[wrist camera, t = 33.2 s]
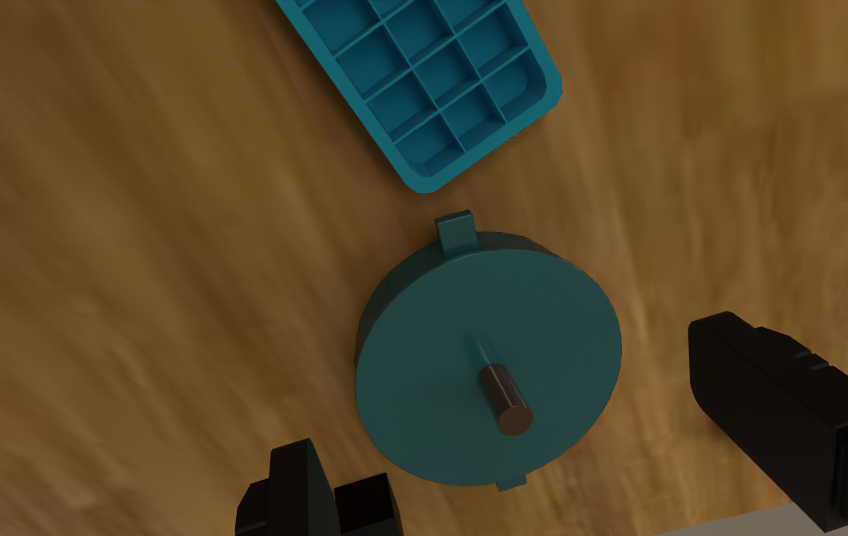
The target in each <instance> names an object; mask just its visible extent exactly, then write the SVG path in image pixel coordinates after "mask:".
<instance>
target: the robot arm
mask: <svg viewBox="0 0 848 536" xmlns="http://www.w3.org/2000/svg"><path fill="white" fill-rule="evenodd" d="M688 343H689V368H690V384H691V389H692V392H693V395H694V397H695V399H696V401H697V403H698V404H699V406H700V407H701V409H702V410H703V411H704V412H705V413H706V414H707V415H708V416H709V417H710V418H711V419H712V420H713V421H714V422H715V423H716V424H717V425H718V426H719V427H720V428H721V429H722V430H723V431H724V432H725V433H726V434H727V435H728V436H729V437H730V438H731V439H732V440H733V441H734V442H735V443H736V444H737V445H738V446H739V447H740V448H741V449H742V450H743V451H744V452H745V453H746V454H747V455H748V456H749V457H750V458H751V459H752V460H753V461H754V462H755V463H756V464H757V465H758V466H759V467H760V468H761V469H762V470H763V471H764V472H765V473H766V474H767V475H768V476H769V477H770V478H771V479H772V480H773V481H774V482H775V483H776V484H777V485H778V486H779V487H780V488H781V489H782V490H783V491H784V492H785V493H786V494H787V495H788V496H789V498H790V499H791V500H792V501H793V502H794V503H795V504H797V506H799V508H800V509H801V510H803V511H804V512H805V513H806V514H807V515H808V517H809V518H811V520H813V522H815V524H817V526H818V527H819V528H820V529H822V531H823V532H824V533H826V532H829V531H832V530H835V529H838V528H841V527H844V526H847V525H848V375H846V374H845V373H843V372H842V371H840V370H839V369H837V368H836V367H834V366H830V365H829V363H828V362H827V361H825V360H824V359H822V358H821V357H819V356H818V355H817V354H812V353H811V350H809V349H808V348H806V347H805V346H803V345H802V344H800V343H799V342H797V341H796V340H794V339H793V338H791V337H790V336H787V335H784V334H782V333H779V332H776V331H773V330H770V329H767V328H764V327H758V328H753V327H752V326H751V325H749V324H748V323H746V322H745V321H744V320H742V319H741V318H739V317H738V316H737V315H735V314H734V313H732V312H729V311H725V312H721V313H718V314H715V315H712V316H708V317H705V318H702V319H699V320H695V321H692V322H691V323H690V325H689V328H688ZM235 536H341V533H340V522H339V516H338V511H337V507H336V503H335V500H334V496H333V494H332V491H331V488H330V486H329V483H328V481H327V478H326V476H325V473H324V471H323V468H322V466H321V463H320V460H319V458H318V455H317V453H316V450H315V448H314V445H313V443H312V441H311V440H310V439H309V438H307V439H304V440H300V441H297V442H294V443H291V444H287V445H284V446H281V447H278V448H274V449H272V451H271V456H270V472H269V478H268V479H264V480H261V481H258V482H255V483H252V484H250V486H249V488H248V490H247V491H246V493H245V495H244V497H243V499H242V500H241V502H240V504H239V506H238V508H237V516H236V524H235Z"/></svg>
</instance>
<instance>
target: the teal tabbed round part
mask: <svg viewBox="0 0 848 536" xmlns="http://www.w3.org/2000/svg"><path fill="white" fill-rule="evenodd" d="M435 225H436V229H437V233H438V237H439V241H437V242H434V243H432V244H430V245H428V246H426V247H424V248H422V249H420V250H418V251H417V252H415V253H414V254H412V255H411V256H409V257H408V258H406V259H405V260H404V261H402V262H401V263H400V264H399V265H398V266H396V267H395V268H394V269H393V270H392V271H391V272H390V273H389V274H388V275H387V276H386V277H385V278H384V280H383V281H382V282H381V283H380V284H379V286H378V287H377V289H376V290H375V291H374V293H373V294H372V296H371V298H370V300H369V301H368V303H367V305H366V307H365V309H364V312H363V314H362V315H361V317H360V320H359V327H358V331H357V336H356V348H355V355H354V367H355V369H356V365H357V360H358V355H359V352H360V349H361V346H362V344H363V341H364V338H365V336H366V334H367V332H368V330H369V328H370V327H371V325H372V323H373V321H374V320H375V318H376V317H377V315H378V314H379V313H380V311H381V310H382V308H383V307H384V306H385V305H386V304H387V302H388V301H389V300H390V299H391V298H392V297H393V296H394V295H395V294H396V293H397V292H398V291H399V290H400V289H401V288H403V287H404V286H405V285H406V284H407V283H409V282H410V281H411V280H412V279H414V278H415V277H417V276H418V275H420V274H421V273H423V272H424V271H426V270H427V269H429V268H431V267H433V266H435V265H437V264H439V263H441V262H443V261H445V260H447V259H450V258H453V257H456V256H458V255H461V254H464V253H468V252H472V251H477V250H481V249H487V248H497V247H522V248H528V249H535V250H540V251H543V252H547V253H550V254H553V255H556V254H554V253H553V252H551V251H549V250H548V249H546V248H545V247H543V246H542V245H540V244H538V243H536V242H534V241H532V240H530V239H528V238H526V237H524V236H517V235H513V234H507V233H501V232H476V229H475V224H474V219H473V214H472V213H471V212H470V211H469V210H464V211H461V212H457V213H454V214H450V215H447V216H443V217H440V218H436V219H435ZM556 256H558V255H556ZM558 257H560V256H558ZM560 258H561V257H560ZM526 483H527V481H526V476H525V475H522V476H519V477H517V478H514V479H510V480H506V481H502V482H498V483H496V486H497V488H498V490H499V492H502V491H505V490H508V489H511V488H514V487H517V486H520V485H523V484H526Z"/></svg>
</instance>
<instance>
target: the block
mask: <svg viewBox="0 0 848 536" xmlns="http://www.w3.org/2000/svg"><path fill="white" fill-rule="evenodd" d="M335 503H336V507H337V511H338V516H339V522H340V533H341V536H404V533H403V528H402V523H401V518H400V513H399V509H398V506H397V503H396V500H395V497H394V494H393V491H392V488H391V485H390V482H389V479H388V476H387V474H386V473H383V474H380V475H377V476H374V477H370V478H367V479H364V480H361V481H358V482H355V483H352V484H348V485H345V486H342V487H339V488H336V489H335Z"/></svg>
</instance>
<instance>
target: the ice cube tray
mask: <svg viewBox="0 0 848 536" xmlns="http://www.w3.org/2000/svg"><path fill="white" fill-rule="evenodd" d="M276 2H277V3H278V5H279V6H280V7H281V9H282V10H283V12H284V13H285V15H286V16H287V17H288V19H289V20H290V22H291V23H292V24H293V26H294V27H295V29H296V30H297V31H298V33H299V34H300V36H301V37H302V39H303V40H304V41H305V43H306V44H307V46H308V47H309V48H310V50H311V51H312V53H313V54H314V55H315V57H316V58H317V60H318V61H319V63H320V64H321V65H322V67H323V68H324V70H325V71H326V72H327V74H328V75H329V77H330V78H331V79H332V81H333V82H334V84H335V85H336V87H337V88H338V89H339V91H340V92H341V94H342V95H343V96H344V98H345V99H346V101H347V102H348V104H349V105H350V106H351V108H352V109H353V111H354V112H355V113H356V115H357V116H358V118H359V119H360V120H361V122H362V123H363V125H364V126H365V128H366V129H367V130H368V132H369V133H370V135H371V136H372V137H373V139H374V140H375V142H376V143H377V144H378V146H379V147H380V149H381V150H382V152H383V153H384V154H385V156H386V157H387V159H388V160H389V161H390V163H391V164H392V166H393V167H394V168H395V170H396V171H397V173H398V174H399V176H400V177H401V178H402V180H403V181H404V183H405V184H406V185H407V187H409V188H411V189H413V190H414V191H416V192H418V193H419V194H422V193H431V192H434V191H436V190H437V189H439V188H440V187H442V186H443V185H444V184H446V183H447V182H449V181H450V180H452V179H453V178H454V177H456V176H457V175H459V174H460V173H461V172H463V171H464V170H466V169H467V168H469V167H470V166H471V165H473V164H474V163H476V162H477V161H479V160H480V159H481V158H483V157H484V156H486V155H487V154H488V153H490V152H491V151H493V150H494V149H496V148H497V147H498V146H500V145H501V144H503V143H504V142H506V141H507V140H508V139H510V138H511V137H513V136H514V135H515V134H517V133H518V132H520V131H521V130H523V129H524V128H525V127H527V126H528V125H530V124H531V123H533V122H534V121H535V120H537V119H538V118H540V117H541V116H542V115H544V114H545V113H547V112H548V111H550V110H551V109H552V108H554V107H555V106H556V104H557V102H558V101H559V99H560V97H561V95H562V82H561V76H560V74H559V72H558V70H557V68H556V66H555V65H554V63H553V61H552V59H551V57H550V55H549V53H548V51H547V49H546V47H545V45H544V43H543V41H542V39H541V38H540V36H539V34H538V32H537V30H536V28H535V26H534V24H533V22H532V20H531V18H530V16H529V14H528V13H527V11H526V9H525V7H524V5H523V3H522V1H521V0H276Z"/></svg>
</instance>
